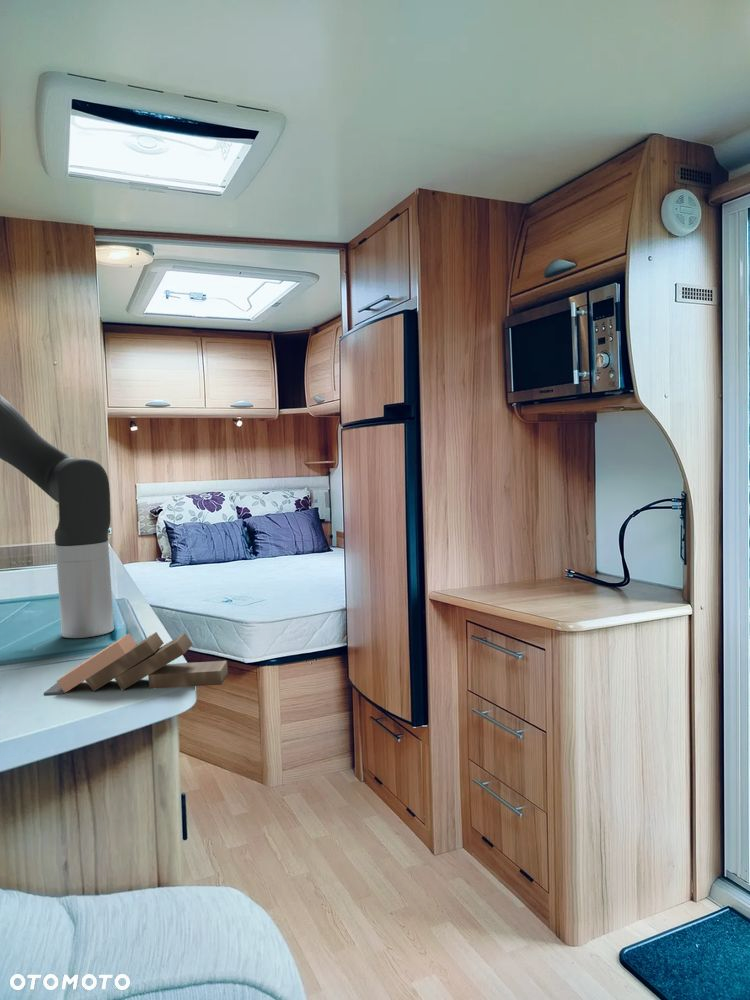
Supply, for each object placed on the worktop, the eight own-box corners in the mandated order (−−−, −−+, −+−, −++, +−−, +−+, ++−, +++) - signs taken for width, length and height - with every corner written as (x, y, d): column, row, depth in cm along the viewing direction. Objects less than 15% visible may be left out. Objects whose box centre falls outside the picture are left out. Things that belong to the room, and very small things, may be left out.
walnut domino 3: (148, 675, 95) (220, 670, 95) (158, 664, 100) (227, 660, 100) (149, 689, 95) (221, 685, 95) (158, 678, 100) (227, 674, 100)
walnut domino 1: (85, 679, 95) (146, 640, 95) (98, 669, 100) (156, 631, 100) (93, 691, 95) (154, 652, 95) (106, 680, 100) (163, 643, 100)
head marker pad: (43, 694, 94) (43, 692, 94) (60, 682, 100) (60, 679, 100) (62, 693, 94) (62, 691, 94) (78, 681, 100) (78, 679, 100)
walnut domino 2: (114, 678, 95) (177, 641, 95) (126, 667, 100) (185, 632, 100) (122, 690, 95) (184, 653, 95) (133, 679, 100) (192, 644, 100)
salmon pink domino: (56, 681, 94) (117, 642, 94) (71, 670, 99) (129, 633, 99) (64, 692, 95) (125, 653, 95) (79, 681, 100) (136, 644, 100)
